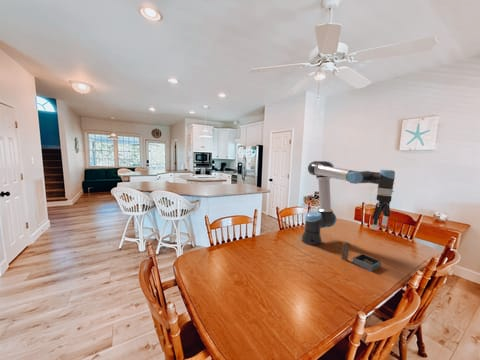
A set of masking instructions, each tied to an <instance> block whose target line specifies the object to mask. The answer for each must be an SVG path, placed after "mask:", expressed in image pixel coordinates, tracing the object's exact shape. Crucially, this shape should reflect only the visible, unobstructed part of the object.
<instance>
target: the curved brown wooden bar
mask: <svg viewBox="0 0 480 360" xmlns="http://www.w3.org/2000/svg"><path fill="white" fill-rule="evenodd" d="M349 248H350V242H349V241H345V240H344V241H343V242H342V249H341V257H340V259H341V260H342V261H345V262H347V261H348V257H349Z"/></svg>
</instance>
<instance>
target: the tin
mask: <svg viewBox="0 0 480 360" xmlns="http://www.w3.org/2000/svg"><path fill="white" fill-rule="evenodd" d="M352 264H354V265H356V266H358V267H360V268H363V269H365V270H366V271H369V272H371V273H372V272H374V271H376V270H378V269H379V268H381V267H382V260H379V259H377V258H374V257H371V256H370V255H367V254H364V253H361V254H358V255H356V256H354V257H352Z"/></svg>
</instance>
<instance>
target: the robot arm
mask: <svg viewBox="0 0 480 360" xmlns="http://www.w3.org/2000/svg"><path fill="white" fill-rule="evenodd" d="M307 171H308V173H309V174H310V175H312V176H315V177H316V180H317V181H318V201H319V204H318V205H319V208H318V209H317V211H309V212H307V213H306V215H305V223H304V224H305V225H304V232H303V234H302V236H301V242H303V243H304V244H306V245H311V246H320V245H322V242H323V241H322V240H323V239H322V235H321V229H322V228H323V229H325V228H330V227H333V226H335V224H336V223H337V216H336V214H335V213H334V210H333V209H332V208H331V206H332V204H331V183H330V182H331V181H330V180H331V178H332V179H336V180H341V181H345V182H348V183H350V184H353V185H354V184H355V185H356V184H374V185H377V192H376V193H377V194H376V201H378V202H376V203H375V208H374V211H373V214H372V217H371V219H372V220H373V221H372V227H371V228H372V230H375V231H378V229H379V223H380V216H381V215H382V214H383V215H382V220H381V226H383V227H386V228H387V227H388V221H389V217H390V218H391V210H390V209H391V208H390V205H391V204H390V203H391V202H392V196H393V193H394V190H393V189H394V184H395V179H396V171H395V170H392V169H380V171H379V172H377V171H369V170H362V171H357V170H351V169H347V168H346V169H345V168H342V167H341V168H339V167H334V164H333V163H332V162H330V161H327V160H325V161H322V160H321V161H320V160H318V161H317V160H315V161H312V162H310V163H309V164H308V166H307Z"/></svg>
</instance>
